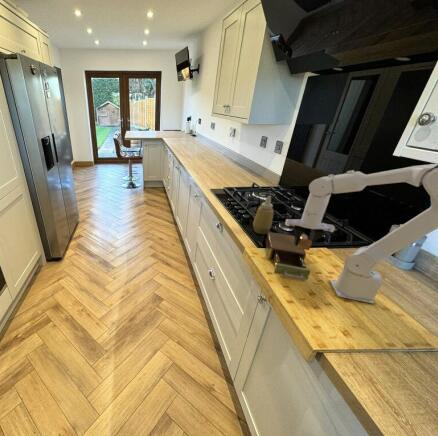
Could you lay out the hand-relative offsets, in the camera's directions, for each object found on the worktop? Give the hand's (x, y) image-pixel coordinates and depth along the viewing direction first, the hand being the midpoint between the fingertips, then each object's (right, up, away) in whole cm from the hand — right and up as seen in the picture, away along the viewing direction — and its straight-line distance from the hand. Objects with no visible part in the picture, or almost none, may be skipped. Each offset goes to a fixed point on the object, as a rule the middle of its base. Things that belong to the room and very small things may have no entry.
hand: (302, 245), depth 86 cm
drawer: (-5, -9, 0) cm, 10 cm away
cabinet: (-1, -5, +11) cm, 12 cm away
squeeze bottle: (-2, +3, +27) cm, 27 cm away
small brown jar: (0, 0, 0) cm, 0 cm away
